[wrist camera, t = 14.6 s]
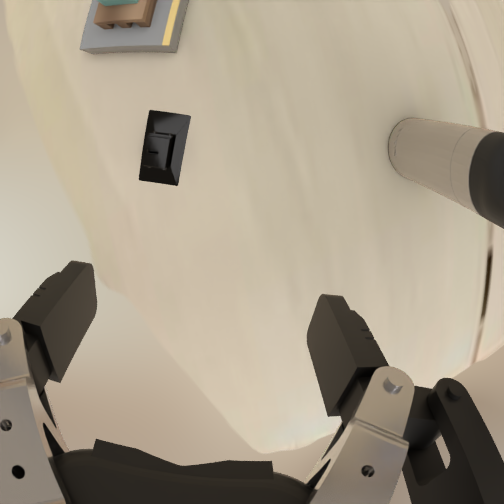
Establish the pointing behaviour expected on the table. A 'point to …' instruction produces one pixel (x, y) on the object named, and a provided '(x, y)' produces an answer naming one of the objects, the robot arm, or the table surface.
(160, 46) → the dock
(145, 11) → the pallet
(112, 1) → the teal rectangular block
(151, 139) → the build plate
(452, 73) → the table surface
